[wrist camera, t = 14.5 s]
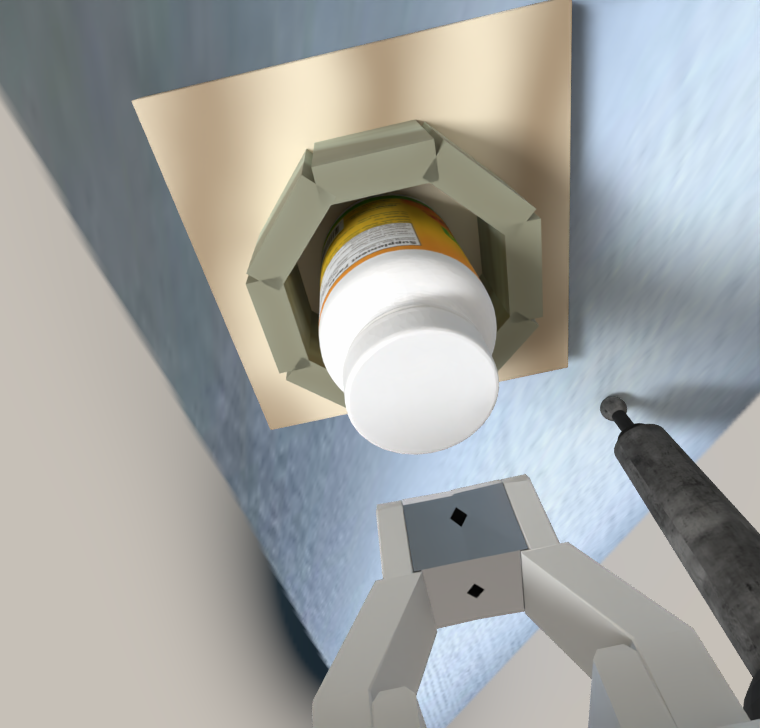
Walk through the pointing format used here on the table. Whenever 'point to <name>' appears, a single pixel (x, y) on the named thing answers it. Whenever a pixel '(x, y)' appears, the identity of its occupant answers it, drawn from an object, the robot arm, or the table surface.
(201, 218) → the socket board
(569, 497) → the table surface
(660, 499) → the microphone
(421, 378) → the supplement bottle
